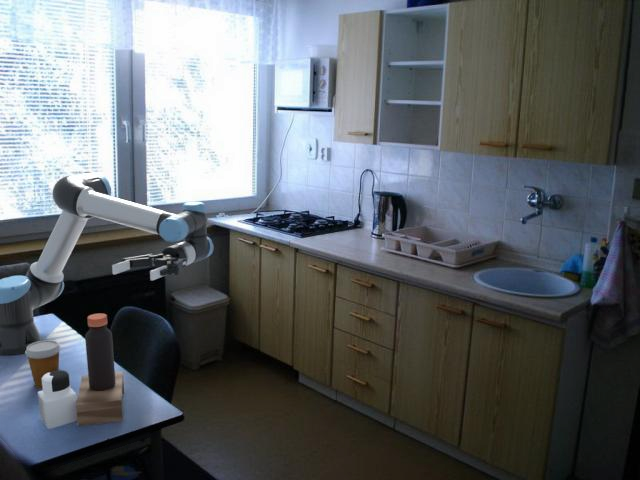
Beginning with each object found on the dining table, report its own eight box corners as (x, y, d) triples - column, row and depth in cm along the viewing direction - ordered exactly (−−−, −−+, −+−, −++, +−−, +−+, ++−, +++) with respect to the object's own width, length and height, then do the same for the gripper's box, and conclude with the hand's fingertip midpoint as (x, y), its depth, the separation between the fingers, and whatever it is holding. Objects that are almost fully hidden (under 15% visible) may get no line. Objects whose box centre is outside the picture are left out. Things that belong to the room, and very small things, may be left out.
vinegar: (119, 386, 169) (114, 316, 165) (94, 393, 165) (88, 322, 160) (110, 378, 174) (105, 310, 170) (85, 384, 170) (79, 315, 166)
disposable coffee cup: (50, 392, 178) (47, 353, 176) (21, 389, 180) (17, 350, 178) (70, 378, 188) (66, 340, 185) (42, 375, 189) (38, 338, 187)
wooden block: (83, 395, 177) (82, 375, 175) (124, 390, 180) (122, 371, 178) (78, 426, 160) (76, 405, 159) (122, 420, 163) (121, 399, 162)
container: (69, 409, 169) (65, 365, 166) (79, 420, 163) (75, 374, 160) (39, 418, 164) (35, 372, 161) (48, 430, 158) (43, 383, 155)
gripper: (211, 272, 191) (168, 291, 172) (146, 263, 201) (99, 279, 182) (210, 248, 189) (167, 265, 171) (145, 240, 199) (97, 255, 180)
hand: (131, 272), depth 176 cm, fingers open, 13 cm apart
